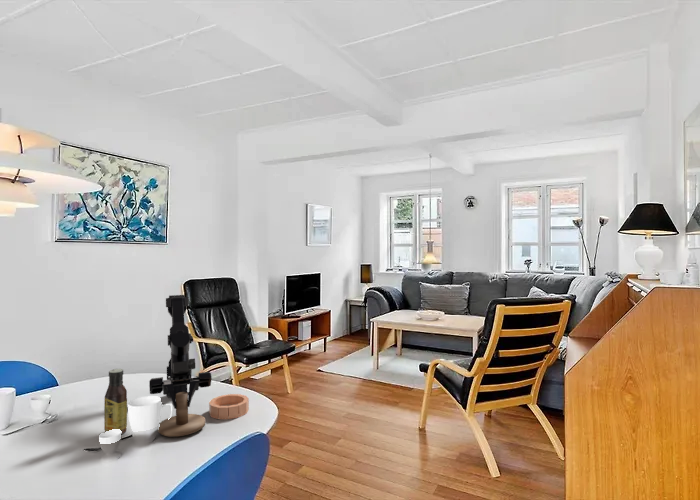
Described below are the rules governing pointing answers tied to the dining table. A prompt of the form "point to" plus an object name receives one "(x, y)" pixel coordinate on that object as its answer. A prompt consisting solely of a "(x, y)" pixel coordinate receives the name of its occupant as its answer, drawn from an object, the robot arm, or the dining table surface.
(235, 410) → the terracotta bowl
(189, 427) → the walnut lid
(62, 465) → the dining table surface
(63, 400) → the dining table surface
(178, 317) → the robot arm
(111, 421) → the sauce bottle
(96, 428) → the dining table surface
